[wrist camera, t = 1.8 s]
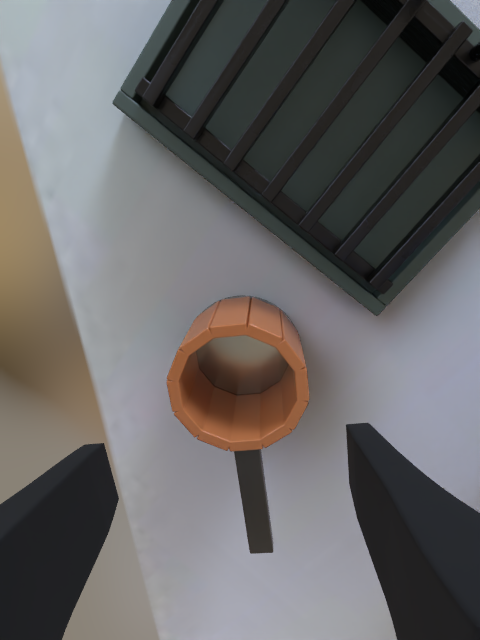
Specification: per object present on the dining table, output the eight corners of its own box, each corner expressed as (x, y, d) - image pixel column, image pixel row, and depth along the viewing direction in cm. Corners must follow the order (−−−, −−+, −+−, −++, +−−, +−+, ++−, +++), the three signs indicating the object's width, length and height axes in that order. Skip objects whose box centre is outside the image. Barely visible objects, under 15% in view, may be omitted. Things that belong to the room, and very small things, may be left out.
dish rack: (541, 122, 16) (648, 95, 12) (368, 307, 19) (401, 344, 14) (272, -140, 14) (275, -295, 10) (124, 110, 17) (72, 80, 12)
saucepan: (179, 301, 20) (155, 332, 15) (294, 289, 19) (302, 317, 15) (213, 492, 23) (202, 560, 19) (312, 486, 22) (323, 554, 18)
